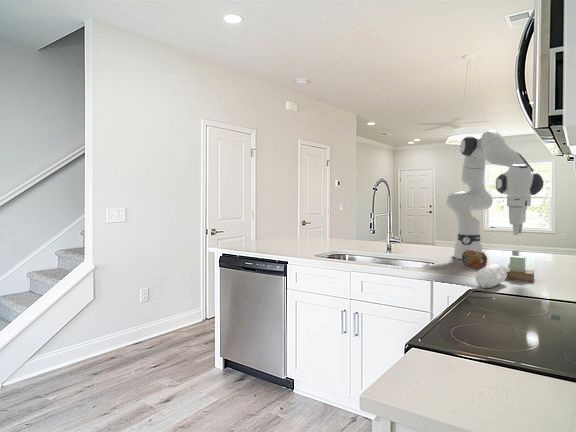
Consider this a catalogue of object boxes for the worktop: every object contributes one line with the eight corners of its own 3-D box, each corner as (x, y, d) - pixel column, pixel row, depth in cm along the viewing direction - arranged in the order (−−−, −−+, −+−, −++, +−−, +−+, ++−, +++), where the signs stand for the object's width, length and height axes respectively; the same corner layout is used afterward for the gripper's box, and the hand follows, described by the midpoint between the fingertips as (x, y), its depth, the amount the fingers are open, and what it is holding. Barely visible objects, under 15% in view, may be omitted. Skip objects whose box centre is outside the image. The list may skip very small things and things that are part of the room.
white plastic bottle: (469, 289, 145) (469, 269, 145) (485, 281, 159) (485, 262, 158) (491, 292, 140) (492, 271, 139) (506, 284, 153) (507, 265, 153)
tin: (461, 265, 199) (461, 249, 198) (466, 264, 200) (466, 248, 199) (482, 270, 184) (483, 253, 184) (488, 269, 185) (488, 252, 185)
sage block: (512, 269, 167) (512, 255, 167) (525, 270, 164) (525, 256, 164) (509, 270, 164) (510, 256, 163) (523, 272, 160) (523, 258, 160)
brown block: (502, 276, 172) (502, 267, 171) (534, 279, 165) (534, 270, 164) (499, 280, 163) (500, 270, 163) (532, 283, 156) (533, 273, 156)
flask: (526, 273, 176) (527, 252, 175) (509, 272, 177) (510, 251, 177) (520, 270, 183) (520, 249, 182) (503, 269, 184) (504, 249, 184)
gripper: (513, 201, 173) (512, 231, 174) (506, 202, 157) (505, 235, 157) (530, 201, 169) (529, 232, 170) (524, 202, 153) (523, 236, 154)
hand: (517, 233), depth 163 cm, fingers open, 8 cm apart
